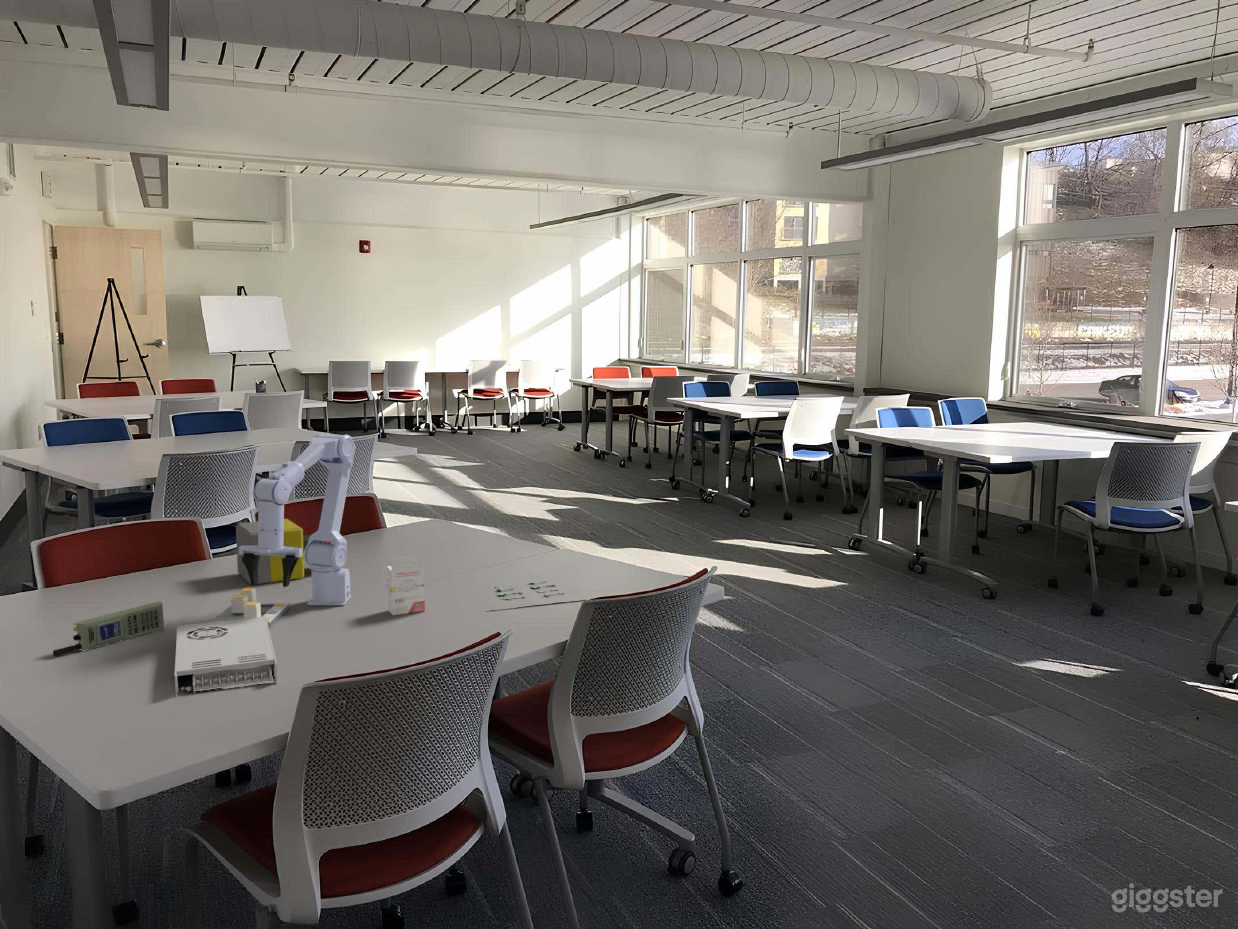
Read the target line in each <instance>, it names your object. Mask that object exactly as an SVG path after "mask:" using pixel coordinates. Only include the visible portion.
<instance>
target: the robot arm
mask: <svg viewBox="0 0 1238 929" xmlns="http://www.w3.org/2000/svg"><path fill="white" fill-rule="evenodd" d="M308 442H309V444H308V446H307V447H305V449H304V450H303V452H302V453H301V454H299V455H298V457H297V458H295V459H294V461H293V460H288V461H284V462H282V464H281V466H280V467H279V468H278V469H277V470H275V471H274V472H272V473H271V474H270V475H269V476H268V478H262V479H260V480H258V481H257V482H256V483H255V486H254V490H253V491H252V496H253V499H254V500H255V501H254V502H255V507H256V510H258V512H257V514H258V518H257V522H258V546H240V547H239V555H244V556H243V557H242V561H243V563H244V565H245V567H246V569H247V571H248V574H249V577H250V581H251V584H250V585H251V586H257V585H256V584H257V583H258V563H259V557H260V555H270V556H286V557H285V558H282V565H283V581H282V587H283V588H287V587H288V586H290V581H291V580H290V578H291V575H292V572H293V569H294V567H295V565H296V563H297V561H298V560H299V557H301V556H302V548H294V547H286V546H283V541H284V519H285V503H287V502H288V501H289V498H290V495H291V493H292V491H293V489H294V488H295V487H296V486H297V485H298V484H299V483H301V482H302V481H303V480H304V478H305V474H306V473H305V472H306V471H307V470H308V469H310V468H311V467H312V466H314V465H315V464H316V463H318V462H319V463H321V464H322V466H324V467H325V468H326V469H327V470H328V476H327V481H326V486H325V491H324V492H325V493H324V498H323V502H322V507H321V514H320V520H319V524H318V529H317V530H318V531H317V530H316V531H315V532H314V534H312V533H311V534H312V535H311V536H310V537H309V541H308V544H307V546H306V548H305V550H304V564H306V565H308V569H309V570H310V571H311V596H312V598H311V599H310V600H309V601H308V603H307V606H345V605H346V604H347V603H348V602H349V600H350V599H351V598H352V595H351V574H350V569H349V568H344V566H345V565H346V561H347V558H348V552H347V547H348V546H347V545H348V541H347V540H346V539H345V538H344V536H342V534H341V533H340V530H341V524H342V519H343V514H344V509H345V503H346V498H347V492H348V487H349V486H348V485H349V481H350V475H351V469H352V468H353V465H354V459H355V455H356V454H355V452H356V448H357V446H356V444H355V442H354V440H353V437H352V436H350V435H349V434H333V433H331V434H329V433H323V432H318V433H315V434H314V435H313V437H311V438H310V439H309V441H308ZM323 542H331V544H325V543H323ZM282 553H283V554H282Z"/></svg>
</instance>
